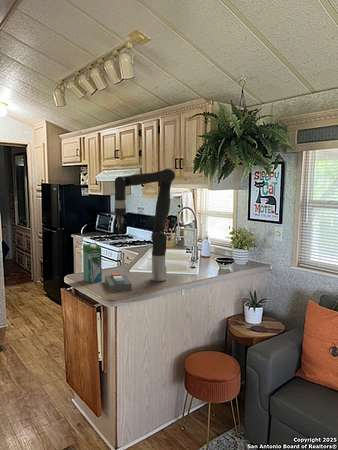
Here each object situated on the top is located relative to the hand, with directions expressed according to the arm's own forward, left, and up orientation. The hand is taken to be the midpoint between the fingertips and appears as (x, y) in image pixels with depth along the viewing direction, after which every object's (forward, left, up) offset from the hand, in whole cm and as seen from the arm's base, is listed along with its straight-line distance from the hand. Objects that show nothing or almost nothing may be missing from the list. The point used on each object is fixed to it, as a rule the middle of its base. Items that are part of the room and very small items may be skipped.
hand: (120, 233), depth 217 cm
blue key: (+4, +18, -29) cm, 34 cm away
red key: (+4, +4, -29) cm, 29 cm away
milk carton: (+18, -5, -32) cm, 37 cm away
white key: (+4, +11, -29) cm, 32 cm away
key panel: (+4, +11, -32) cm, 34 cm away
